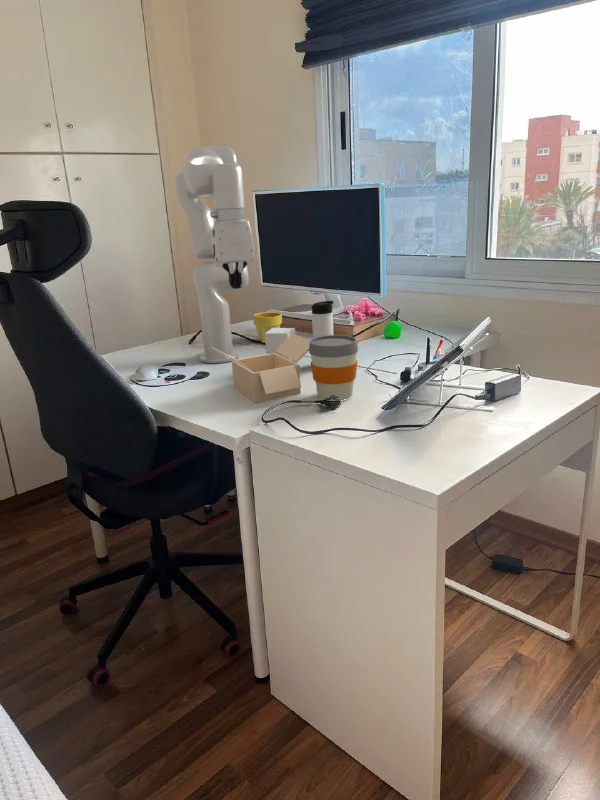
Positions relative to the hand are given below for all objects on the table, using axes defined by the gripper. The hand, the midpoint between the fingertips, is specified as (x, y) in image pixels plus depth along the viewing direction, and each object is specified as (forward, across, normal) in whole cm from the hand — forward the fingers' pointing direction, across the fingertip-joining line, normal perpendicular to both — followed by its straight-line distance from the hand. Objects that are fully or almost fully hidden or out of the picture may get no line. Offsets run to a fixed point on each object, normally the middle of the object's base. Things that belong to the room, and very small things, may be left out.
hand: (236, 287), depth 160 cm
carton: (+28, +4, -7) cm, 29 cm away
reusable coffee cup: (+28, +18, -22) cm, 39 cm away
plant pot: (+30, +28, +48) cm, 63 cm away
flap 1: (+17, -5, -7) cm, 19 cm away
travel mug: (+28, +29, +6) cm, 41 cm away
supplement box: (+28, +16, +8) cm, 34 cm away
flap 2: (+17, +13, -6) cm, 22 cm away
